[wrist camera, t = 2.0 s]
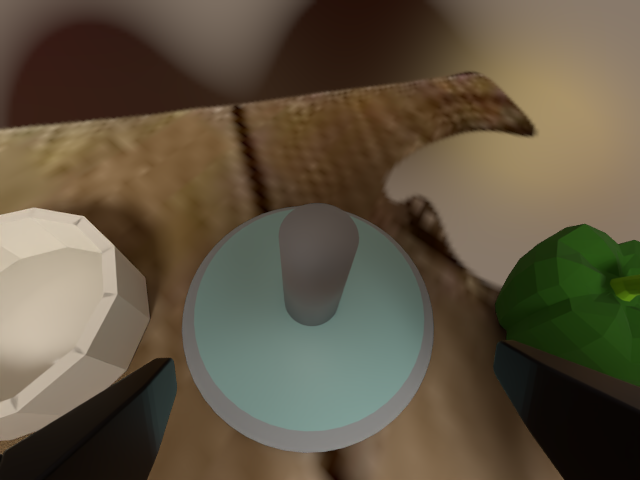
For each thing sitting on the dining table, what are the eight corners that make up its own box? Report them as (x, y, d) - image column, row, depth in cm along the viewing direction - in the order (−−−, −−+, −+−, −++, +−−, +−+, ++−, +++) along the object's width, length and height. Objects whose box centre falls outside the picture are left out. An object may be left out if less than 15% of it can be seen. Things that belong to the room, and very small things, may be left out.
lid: (456, 293, 23) (537, 223, 15) (329, 500, 16) (357, 560, 9) (300, 186, 27) (302, 89, 20) (149, 316, 21) (62, 248, 13)
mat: (471, 294, 24) (474, 291, 23) (331, 533, 16) (332, 536, 16) (299, 177, 28) (299, 174, 28) (129, 320, 21) (126, 318, 21)
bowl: (185, 316, 21) (161, 290, 17) (-7, 492, 16) (-103, 512, 12) (85, 219, 25) (46, 180, 21) (-101, 338, 20) (-198, 315, 16)
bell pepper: (516, 256, 26) (626, 168, 17) (614, 339, 22) (809, 283, 14) (449, 317, 23) (543, 247, 14) (552, 423, 19) (752, 416, 11)
